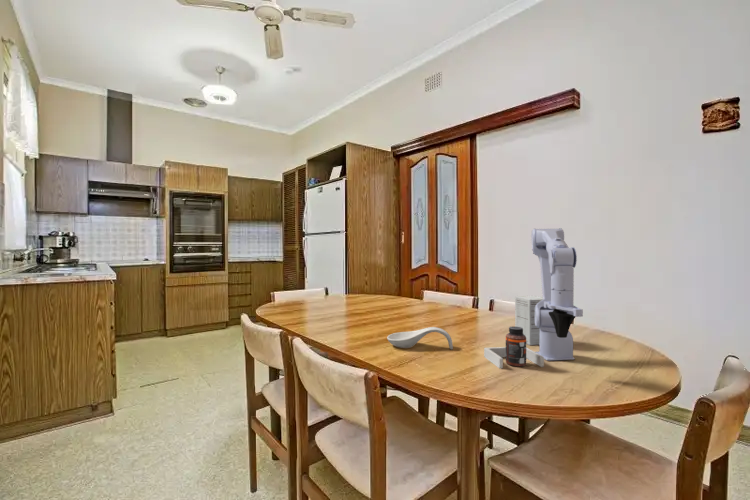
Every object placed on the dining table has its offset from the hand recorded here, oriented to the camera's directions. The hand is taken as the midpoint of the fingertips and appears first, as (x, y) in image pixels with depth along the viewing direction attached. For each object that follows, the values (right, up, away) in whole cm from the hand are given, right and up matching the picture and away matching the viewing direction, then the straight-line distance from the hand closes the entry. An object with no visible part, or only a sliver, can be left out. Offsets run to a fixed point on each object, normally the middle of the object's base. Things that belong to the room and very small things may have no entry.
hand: (561, 337), depth 100 cm
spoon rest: (-37, -11, +27) cm, 47 cm away
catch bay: (-10, -10, +10) cm, 18 cm away
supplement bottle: (-10, -11, +8) cm, 17 cm away
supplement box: (+7, -10, +33) cm, 35 cm away
